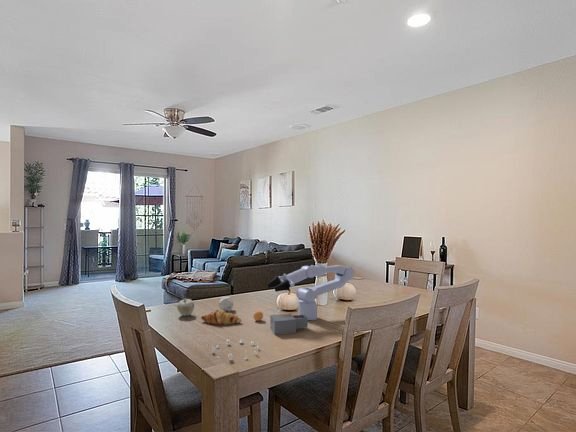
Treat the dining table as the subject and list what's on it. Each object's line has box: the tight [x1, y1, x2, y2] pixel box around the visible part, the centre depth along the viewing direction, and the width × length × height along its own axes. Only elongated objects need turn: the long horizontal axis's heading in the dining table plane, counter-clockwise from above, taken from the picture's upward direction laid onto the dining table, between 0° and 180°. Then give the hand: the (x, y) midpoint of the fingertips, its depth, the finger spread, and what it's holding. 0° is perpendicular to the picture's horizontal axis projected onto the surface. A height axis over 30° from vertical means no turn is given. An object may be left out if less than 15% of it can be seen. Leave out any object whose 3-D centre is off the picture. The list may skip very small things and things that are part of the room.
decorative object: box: [177, 297, 195, 317], centre depth 189 cm, size 9×9×10 cm
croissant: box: [200, 309, 242, 326], centre depth 177 cm, size 21×10×8 cm, turn 84°
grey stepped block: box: [269, 313, 309, 336], centre depth 166 cm, size 16×10×6 cm, turn 104°
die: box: [217, 296, 235, 312], centre depth 199 cm, size 8×9×10 cm
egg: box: [253, 310, 264, 322], centre depth 181 cm, size 5×5×5 cm
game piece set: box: [210, 337, 260, 362], centre depth 140 cm, size 19×20×4 cm
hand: (271, 287), depth 175 cm, fingers open, 7 cm apart
